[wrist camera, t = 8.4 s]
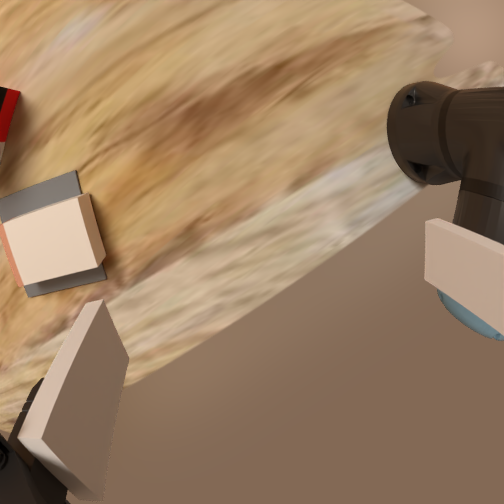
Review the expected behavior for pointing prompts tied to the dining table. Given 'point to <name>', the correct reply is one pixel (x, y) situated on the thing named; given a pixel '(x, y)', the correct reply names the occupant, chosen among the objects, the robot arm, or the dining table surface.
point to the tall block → (53, 241)
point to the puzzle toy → (6, 113)
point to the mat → (39, 198)
